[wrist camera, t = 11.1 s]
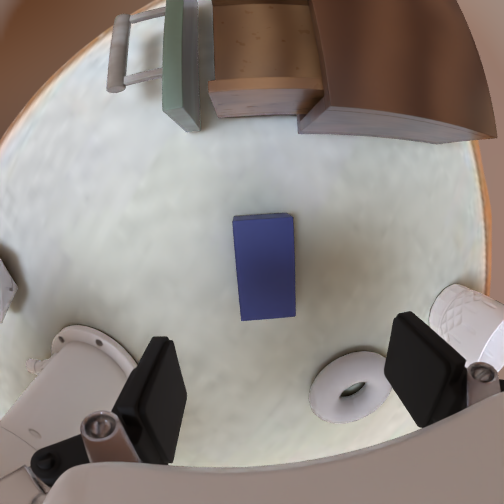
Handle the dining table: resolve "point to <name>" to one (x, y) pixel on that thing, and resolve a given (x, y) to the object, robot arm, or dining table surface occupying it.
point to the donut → (343, 376)
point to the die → (5, 290)
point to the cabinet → (398, 72)
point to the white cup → (470, 324)
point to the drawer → (229, 59)
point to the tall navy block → (265, 265)
